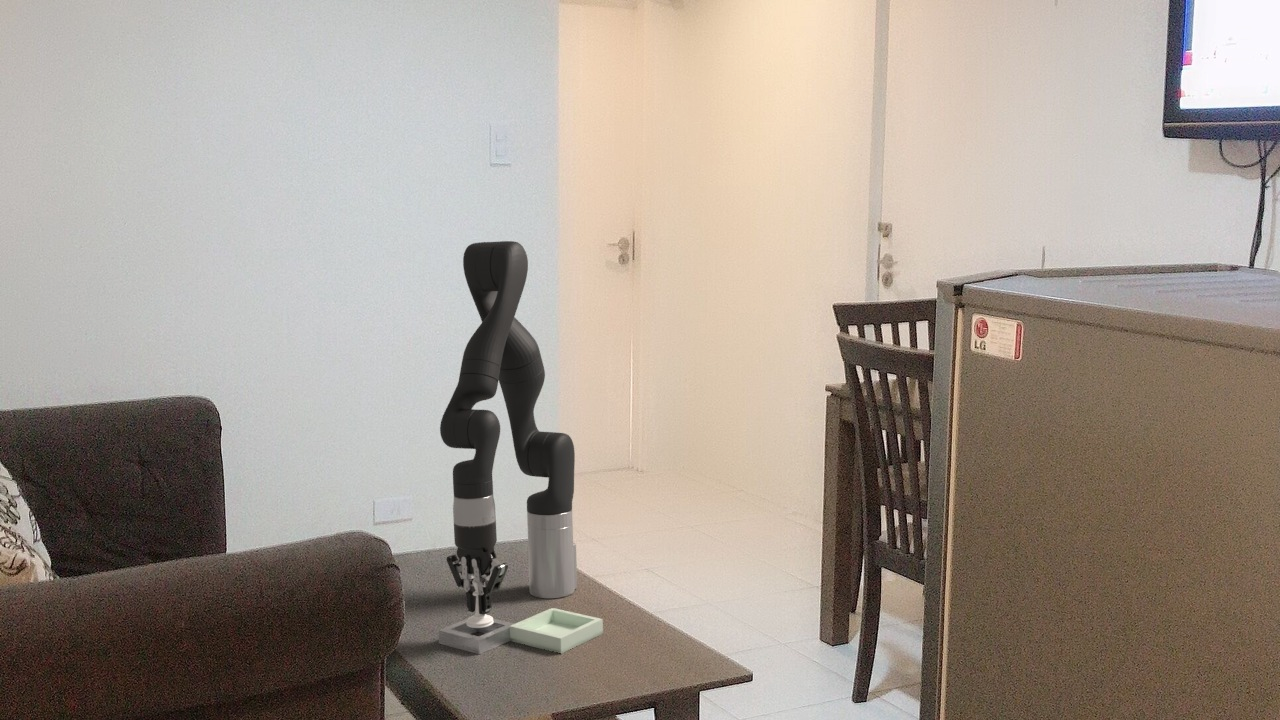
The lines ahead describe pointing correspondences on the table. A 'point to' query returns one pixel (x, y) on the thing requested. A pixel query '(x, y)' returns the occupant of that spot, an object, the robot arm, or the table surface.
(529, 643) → the tray
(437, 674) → the table surface
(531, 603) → the table surface
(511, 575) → the table surface
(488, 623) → the chess piece
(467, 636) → the collar block
